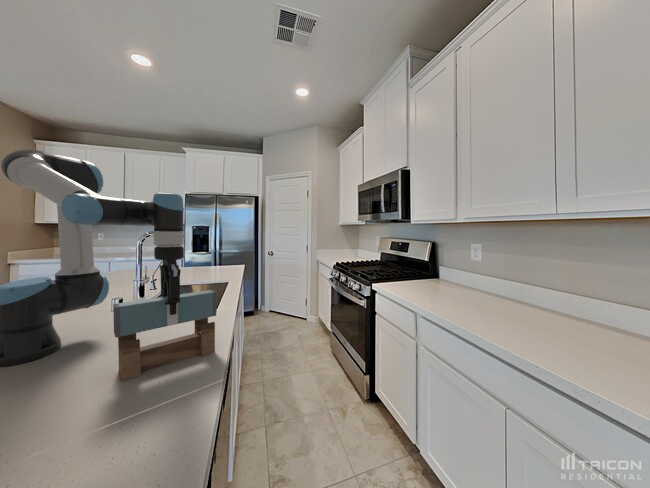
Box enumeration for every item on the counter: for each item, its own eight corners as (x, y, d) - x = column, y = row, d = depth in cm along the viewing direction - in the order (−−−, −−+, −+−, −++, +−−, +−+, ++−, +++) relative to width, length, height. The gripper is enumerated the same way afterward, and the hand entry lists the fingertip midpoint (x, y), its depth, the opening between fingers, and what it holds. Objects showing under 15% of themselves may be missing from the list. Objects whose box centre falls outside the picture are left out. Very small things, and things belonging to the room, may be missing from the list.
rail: (113, 332, 69) (113, 304, 69) (211, 312, 87) (211, 289, 87) (115, 337, 66) (114, 307, 66) (216, 315, 84) (216, 292, 84)
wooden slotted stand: (118, 370, 71) (118, 335, 71) (206, 344, 88) (206, 316, 88) (121, 381, 66) (121, 344, 66) (214, 352, 83) (214, 322, 82)
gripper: (192, 247, 72) (192, 327, 73) (175, 244, 84) (176, 312, 85) (161, 248, 67) (162, 334, 68) (148, 244, 79) (150, 317, 80)
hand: (170, 322), depth 77 cm, fingers closed on rail, 4 cm apart
